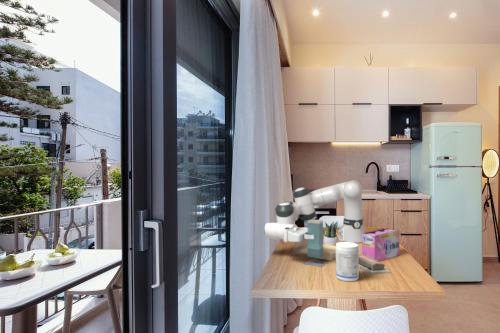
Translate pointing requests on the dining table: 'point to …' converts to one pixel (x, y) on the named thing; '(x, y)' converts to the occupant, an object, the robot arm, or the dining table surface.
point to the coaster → (316, 263)
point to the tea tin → (315, 244)
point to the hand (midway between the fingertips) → (317, 235)
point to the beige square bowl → (328, 252)
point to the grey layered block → (371, 265)
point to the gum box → (381, 244)
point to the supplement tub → (347, 261)
